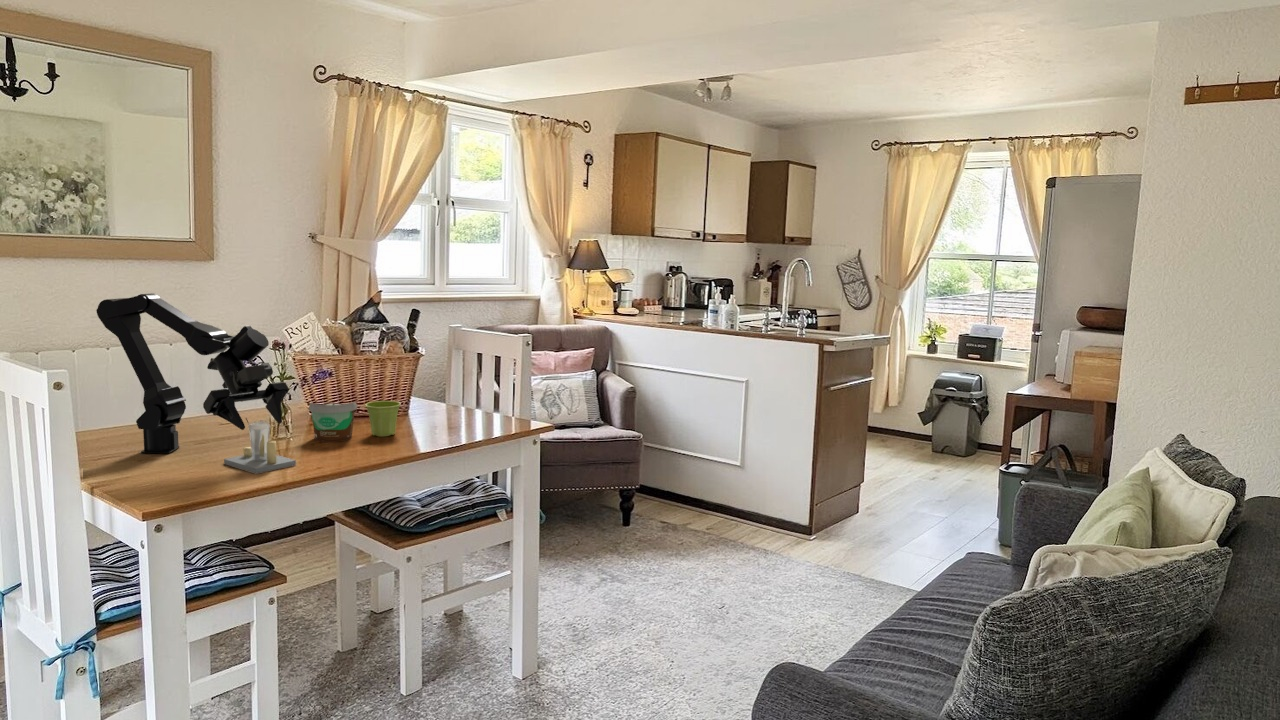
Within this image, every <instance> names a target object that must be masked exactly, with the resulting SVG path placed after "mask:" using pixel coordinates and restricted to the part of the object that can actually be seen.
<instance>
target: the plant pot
mask: <svg viewBox="0 0 1280 720" xmlns="http://www.w3.org/2000/svg"><path fill="white" fill-rule="evenodd" d="M364 405H365V407H366V410H367V413H368V417H369V423H370V429H371V434H372V436H376V437H380V438H381V437H389V436H393V435H395V434H396V427H397V420H398V412H399V410H400V406H401V405H402V403H401V402H400V401H394V400H377V401H376V400H375V401H370V402H366V403H365V404H364Z"/></svg>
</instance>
